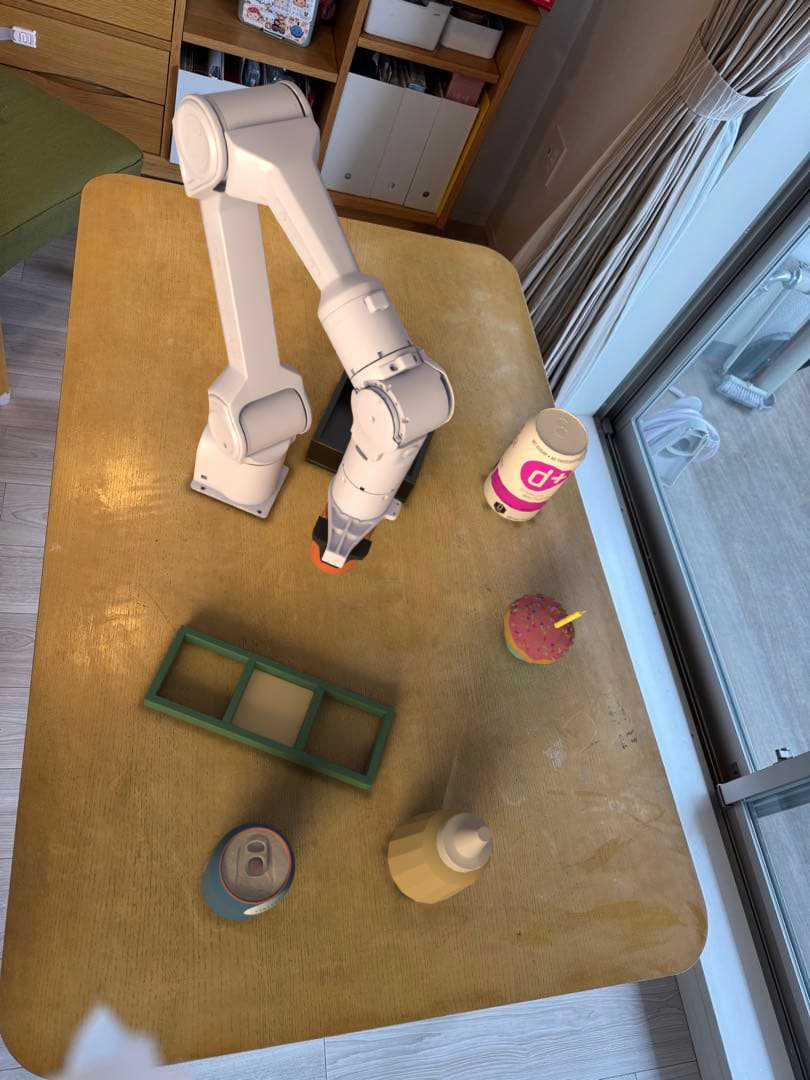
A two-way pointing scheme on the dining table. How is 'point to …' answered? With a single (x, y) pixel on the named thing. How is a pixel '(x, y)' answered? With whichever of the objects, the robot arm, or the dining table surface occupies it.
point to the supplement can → (536, 464)
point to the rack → (272, 707)
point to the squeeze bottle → (439, 853)
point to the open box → (337, 436)
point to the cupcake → (539, 629)
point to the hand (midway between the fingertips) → (339, 539)
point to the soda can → (248, 872)
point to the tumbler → (324, 567)
